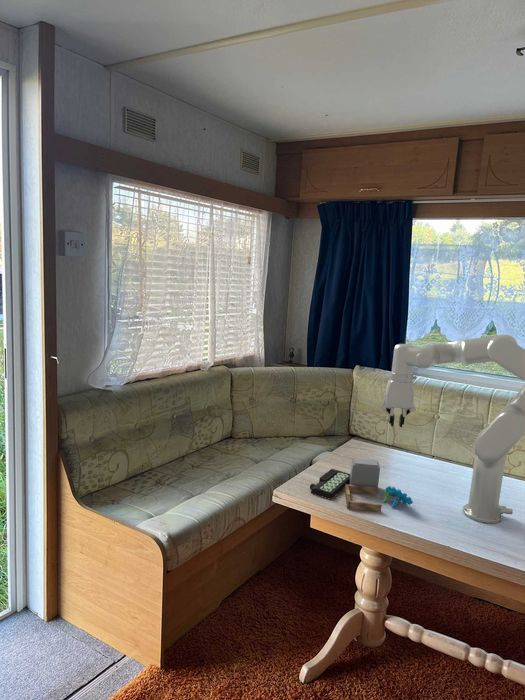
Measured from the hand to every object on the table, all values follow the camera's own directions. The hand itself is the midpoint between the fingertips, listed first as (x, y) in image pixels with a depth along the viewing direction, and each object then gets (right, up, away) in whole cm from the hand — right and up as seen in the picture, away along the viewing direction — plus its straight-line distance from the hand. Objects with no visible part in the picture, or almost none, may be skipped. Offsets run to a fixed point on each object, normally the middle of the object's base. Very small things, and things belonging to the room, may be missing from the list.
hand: (396, 425), depth 193 cm
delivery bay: (-14, -26, -7) cm, 30 cm away
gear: (-2, -27, -9) cm, 29 cm away
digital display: (-24, -24, +4) cm, 34 cm away
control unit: (-12, -24, +3) cm, 27 cm away
